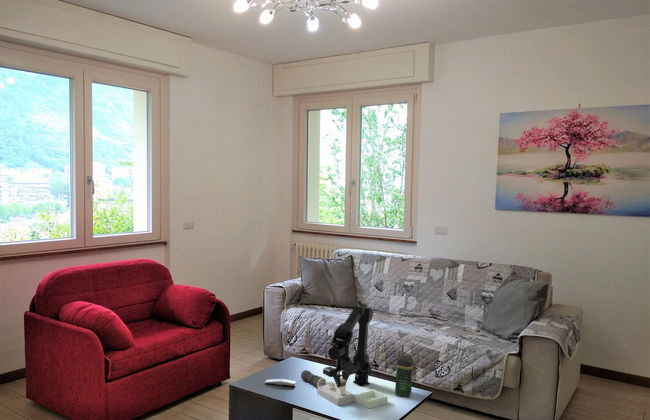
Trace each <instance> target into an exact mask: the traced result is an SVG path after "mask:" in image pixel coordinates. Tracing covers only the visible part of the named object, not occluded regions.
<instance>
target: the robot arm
mask: <svg viewBox="0 0 650 420" xmlns="http://www.w3.org/2000/svg"><path fill="white" fill-rule="evenodd" d="M373 316H374V310H373V309H372V308H371V307H366V306H359V305H354V306H353V307H352V310H351V311H350V314H349V315H348V317H347V319H346V320H345V321H344V323H341V324H340V325H339V326H337V328H336V329H335V331H334V334H333V337H332V340H331V343H332V346H331V347H330V348H329V349H328V351H327V355H328V357H329V359H331V360H332V361H336V363H334V364H333V365H334V367H332V366H327V367H326V366H325V367H324V368H323V370H322V374H323V375H325V376H327V377H329V378H333V381H334V383H335V385H337V387H338V388H339V387H340V379H341V378H343V379H345V380H346V384H347V383H348V379H349V378H350V376H352V375H354V380H352V383H354V384H355V385H357V386H360V387H363V386H367V385H370V384H371V382H369V374H372V371H373V370H372V369H373V367H372V365H371V363H370V357H369V355H368V352H367V351H368V349H367V348H368V334H369V324H370V323H371V322H372V320H373ZM357 323H358V335H357V350H356V351H357V352H356V354H355V355H354V356H352V358H351V356H349V355H350V344H351V343H352V339H353V337H354V332H353V331H354V329H355V326H356V325H357ZM351 359H352V360H351Z"/></svg>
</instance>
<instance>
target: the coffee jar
mask: <svg viewBox="0 0 650 420" xmlns="http://www.w3.org/2000/svg"><path fill="white" fill-rule="evenodd" d="M413 369H414V358H413V357H412V356H411V355H407V354H402V355H400V356H398V358H397V360H396V371H395V373H396V374H395V385H394V386H395V388H394V394H395V395H396V396H399V397H402V398H403V397H404V398H406V397H407V398H409V397H410V396H411V394H412V390H413V389H412V385H413V373H414V372H413V371H414V370H413ZM408 396H409V397H408Z"/></svg>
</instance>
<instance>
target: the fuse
mask: <svg viewBox="0 0 650 420" xmlns="http://www.w3.org/2000/svg"><path fill="white" fill-rule="evenodd" d="M335 385H336V383H335V382H332V381H329V382H326V389H328V390H333V389H335Z"/></svg>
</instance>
